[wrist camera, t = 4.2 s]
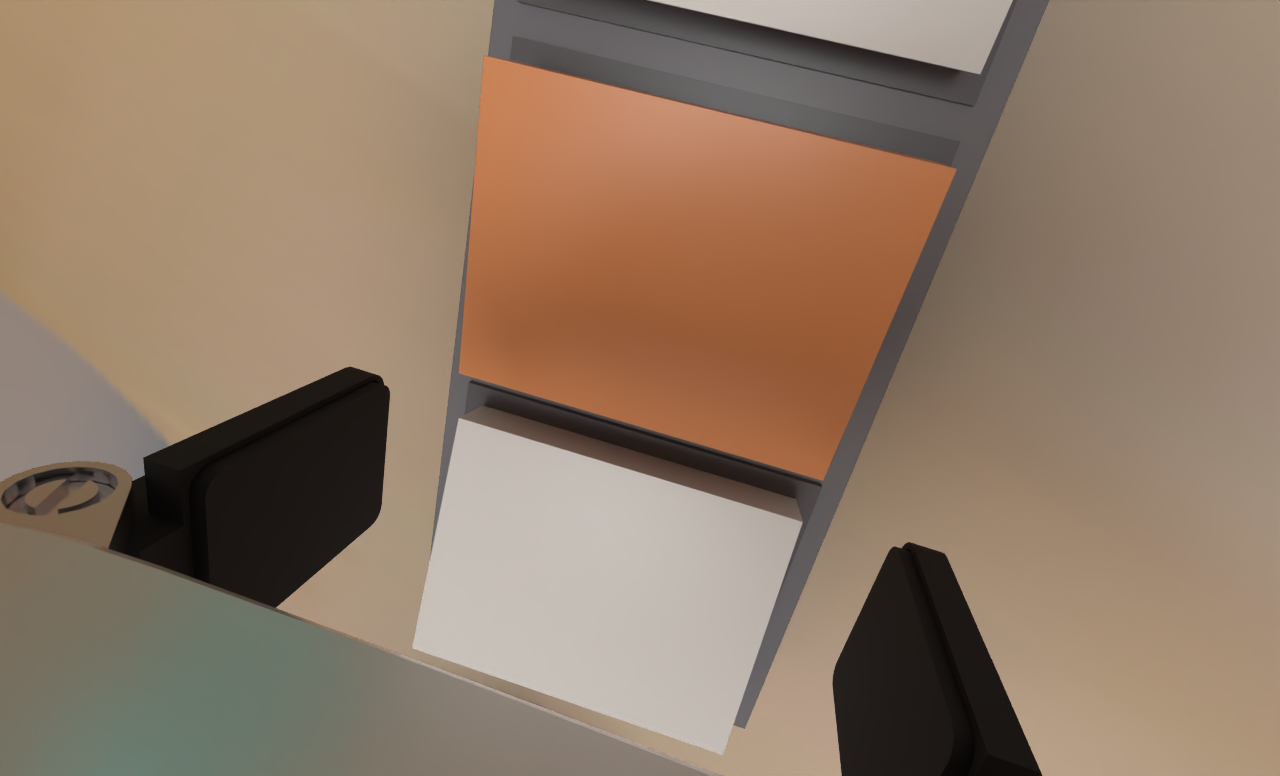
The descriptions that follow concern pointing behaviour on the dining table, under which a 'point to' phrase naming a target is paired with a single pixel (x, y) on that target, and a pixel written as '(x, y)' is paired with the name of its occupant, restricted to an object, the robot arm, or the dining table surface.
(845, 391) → the rocker middle orange
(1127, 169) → the dining table surface
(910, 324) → the long grey tray
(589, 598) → the rocker far grey
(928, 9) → the rocker near grey
